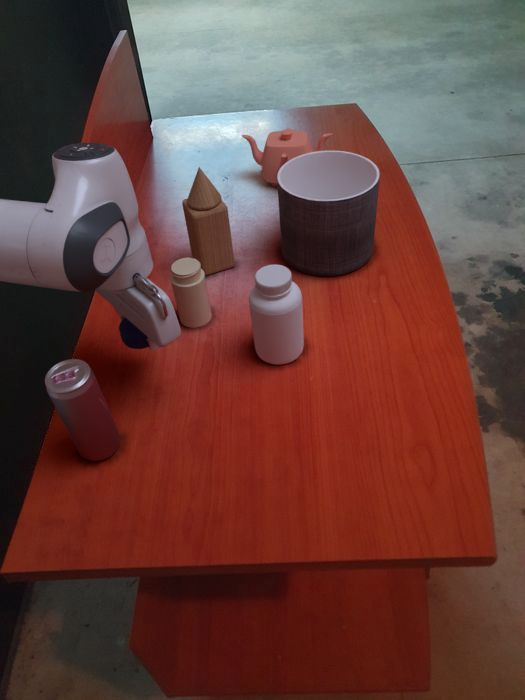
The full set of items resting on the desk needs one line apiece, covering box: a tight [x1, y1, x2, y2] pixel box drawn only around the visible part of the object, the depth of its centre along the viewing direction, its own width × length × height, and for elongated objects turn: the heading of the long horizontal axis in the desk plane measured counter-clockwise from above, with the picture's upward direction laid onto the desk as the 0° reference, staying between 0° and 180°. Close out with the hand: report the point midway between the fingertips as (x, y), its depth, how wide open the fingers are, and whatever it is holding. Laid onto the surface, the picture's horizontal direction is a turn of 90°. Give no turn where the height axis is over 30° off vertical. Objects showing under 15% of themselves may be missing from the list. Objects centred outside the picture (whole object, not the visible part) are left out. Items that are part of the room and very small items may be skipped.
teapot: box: [241, 127, 334, 187], centre depth 127 cm, size 14×14×11 cm
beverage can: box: [44, 358, 121, 462], centre depth 76 cm, size 6×6×15 cm
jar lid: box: [118, 317, 149, 350], centre depth 86 cm, size 6×6×2 cm
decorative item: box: [181, 166, 235, 276], centre depth 103 cm, size 7×7×20 cm
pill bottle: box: [248, 264, 305, 366], centre depth 87 cm, size 8×8×15 cm
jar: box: [170, 257, 213, 329], centre depth 95 cm, size 6×6×11 cm
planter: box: [277, 150, 381, 277], centre depth 105 cm, size 18×18×16 cm
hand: (141, 334), depth 87 cm, fingers closed on jar lid, 6 cm apart
